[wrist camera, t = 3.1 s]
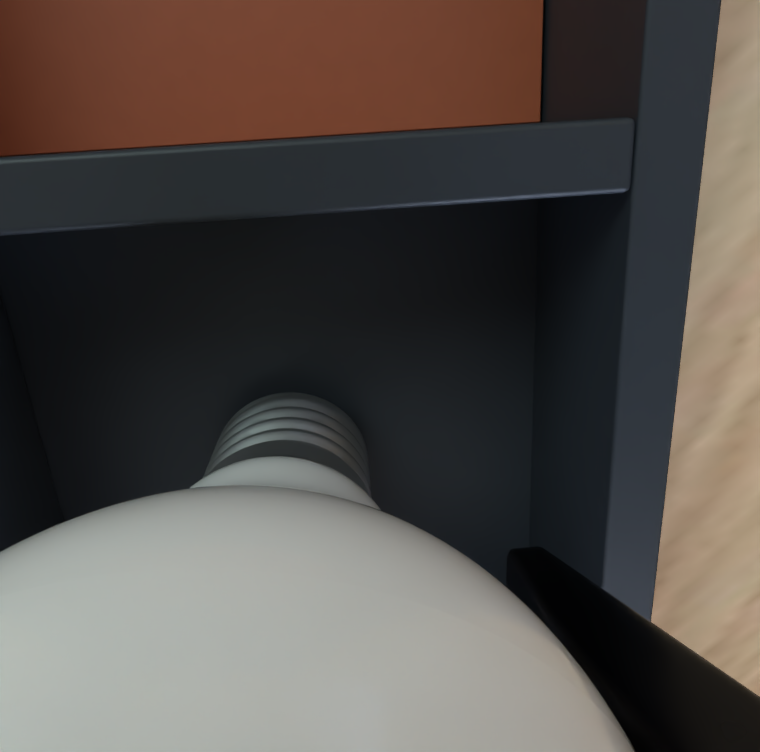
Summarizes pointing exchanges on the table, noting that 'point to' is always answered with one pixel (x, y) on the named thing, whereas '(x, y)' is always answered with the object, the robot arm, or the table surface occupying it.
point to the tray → (356, 253)
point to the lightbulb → (277, 619)
